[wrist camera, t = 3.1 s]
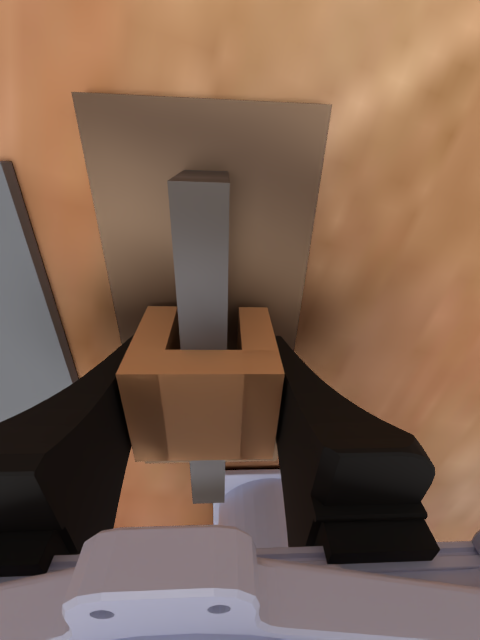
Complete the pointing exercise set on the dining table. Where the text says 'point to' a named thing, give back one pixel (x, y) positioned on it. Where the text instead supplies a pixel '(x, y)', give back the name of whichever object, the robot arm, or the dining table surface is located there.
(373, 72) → the dining table surface
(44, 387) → the mat
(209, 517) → the dining table surface
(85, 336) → the dining table surface
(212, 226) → the stand
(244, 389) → the u-shaped block
